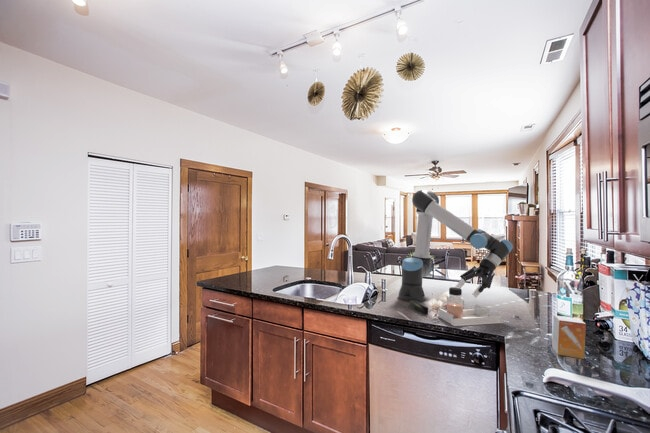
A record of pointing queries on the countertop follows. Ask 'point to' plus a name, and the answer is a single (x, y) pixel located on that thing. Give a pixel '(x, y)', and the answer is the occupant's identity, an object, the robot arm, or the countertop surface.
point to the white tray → (468, 318)
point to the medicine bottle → (455, 296)
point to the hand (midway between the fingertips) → (464, 292)
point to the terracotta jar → (455, 310)
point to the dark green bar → (418, 307)
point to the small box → (569, 336)
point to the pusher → (481, 311)
